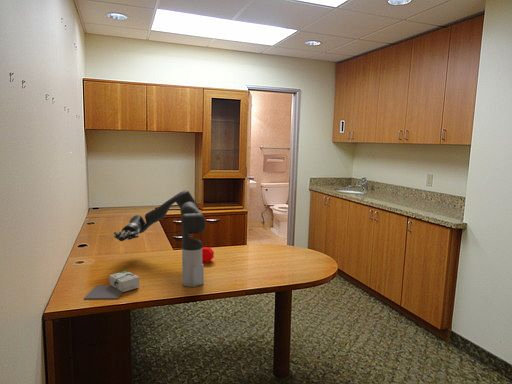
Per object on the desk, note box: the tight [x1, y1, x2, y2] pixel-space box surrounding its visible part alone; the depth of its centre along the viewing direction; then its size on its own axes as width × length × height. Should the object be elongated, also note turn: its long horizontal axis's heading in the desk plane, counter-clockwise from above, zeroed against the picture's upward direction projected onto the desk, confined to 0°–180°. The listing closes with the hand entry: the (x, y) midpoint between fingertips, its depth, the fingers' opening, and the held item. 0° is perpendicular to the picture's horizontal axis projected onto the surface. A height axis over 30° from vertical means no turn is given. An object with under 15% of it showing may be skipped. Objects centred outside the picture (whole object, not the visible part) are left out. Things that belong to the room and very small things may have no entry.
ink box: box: [109, 270, 140, 293], centre depth 167 cm, size 9×5×12 cm
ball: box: [202, 246, 215, 264], centre depth 204 cm, size 8×8×8 cm
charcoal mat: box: [83, 285, 124, 300], centre depth 161 cm, size 14×14×1 cm
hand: (120, 239), depth 181 cm, fingers closed
